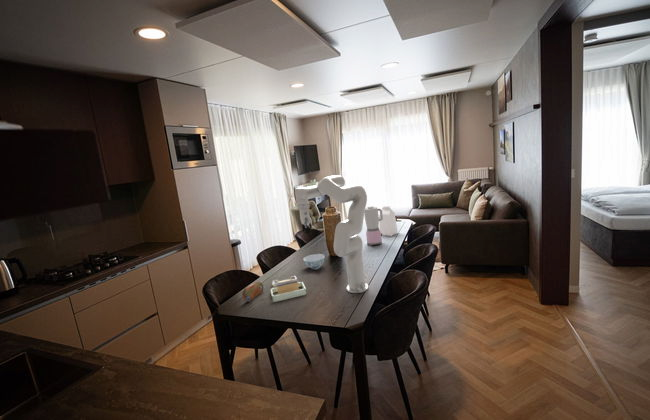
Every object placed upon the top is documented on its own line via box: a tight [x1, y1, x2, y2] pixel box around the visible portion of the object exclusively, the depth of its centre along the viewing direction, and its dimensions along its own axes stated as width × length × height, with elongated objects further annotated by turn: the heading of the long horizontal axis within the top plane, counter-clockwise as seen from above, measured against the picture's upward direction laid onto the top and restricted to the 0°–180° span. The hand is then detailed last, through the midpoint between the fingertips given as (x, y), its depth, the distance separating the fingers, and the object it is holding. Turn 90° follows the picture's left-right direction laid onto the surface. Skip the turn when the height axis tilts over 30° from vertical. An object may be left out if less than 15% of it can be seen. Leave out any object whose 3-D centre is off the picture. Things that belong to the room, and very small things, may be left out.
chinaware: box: [303, 253, 325, 271], centre depth 217 cm, size 15×15×8 cm
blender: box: [364, 205, 383, 247], centre depth 253 cm, size 16×12×32 cm
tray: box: [270, 281, 308, 303], centre depth 179 cm, size 12×20×3 cm, turn 105°
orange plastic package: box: [241, 281, 264, 303], centre depth 180 cm, size 15×3×8 cm, turn 148°
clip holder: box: [271, 275, 299, 288], centre depth 193 cm, size 12×16×4 cm
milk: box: [378, 205, 398, 237], centre depth 279 cm, size 12×12×26 cm
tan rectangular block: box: [277, 278, 300, 295], centre depth 179 cm, size 3×12×7 cm, turn 105°
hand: (306, 232), depth 198 cm, fingers open, 9 cm apart
